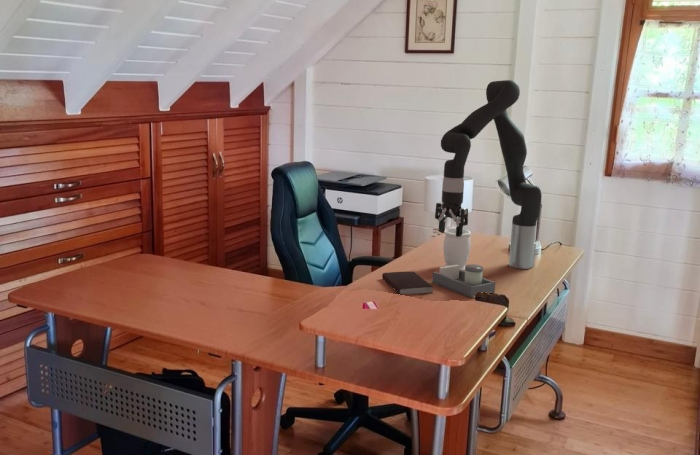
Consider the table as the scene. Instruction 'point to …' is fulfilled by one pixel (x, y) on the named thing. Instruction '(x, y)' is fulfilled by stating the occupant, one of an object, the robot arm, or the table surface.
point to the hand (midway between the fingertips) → (450, 234)
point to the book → (407, 282)
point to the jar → (456, 248)
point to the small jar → (473, 274)
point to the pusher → (450, 271)
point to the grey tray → (462, 284)
